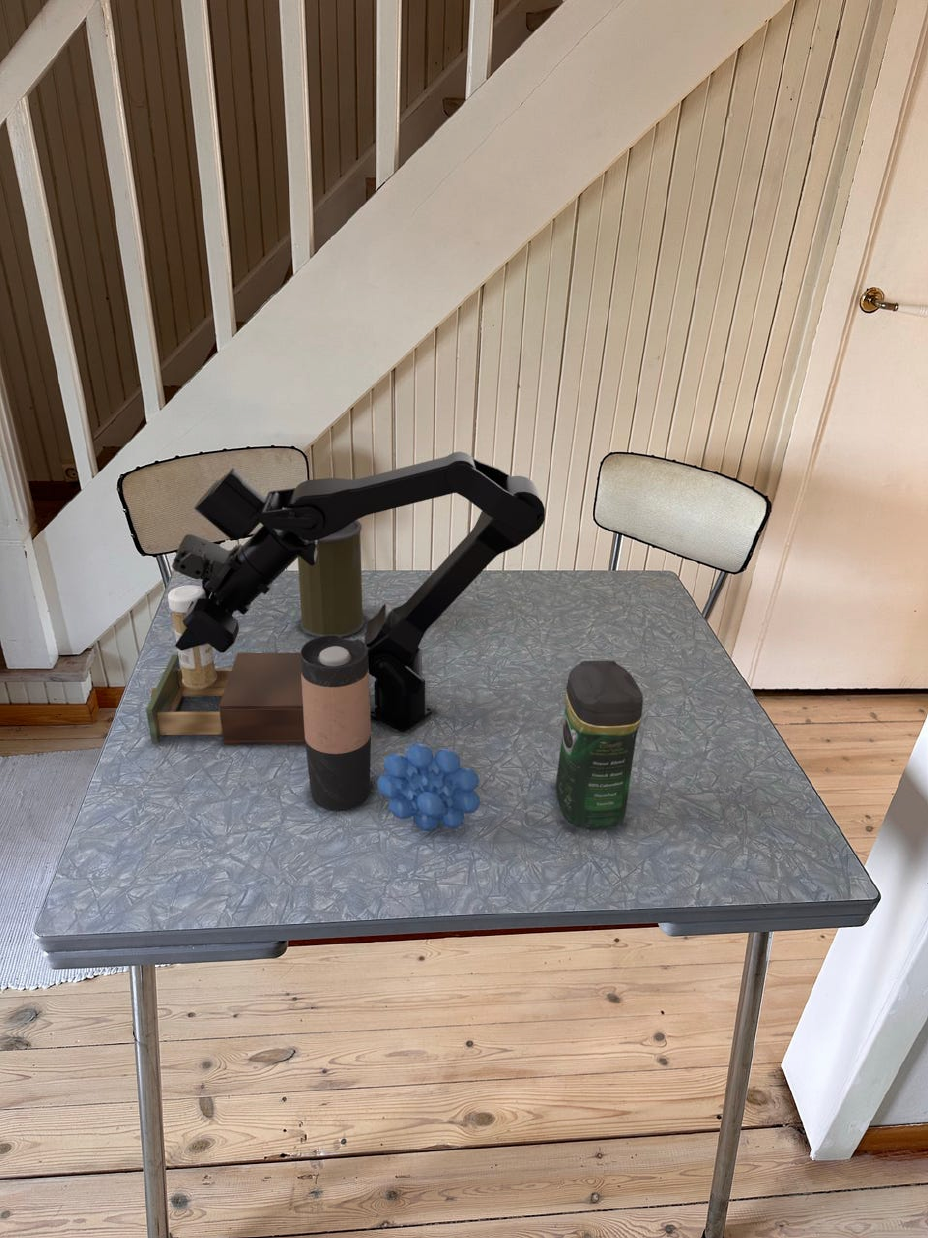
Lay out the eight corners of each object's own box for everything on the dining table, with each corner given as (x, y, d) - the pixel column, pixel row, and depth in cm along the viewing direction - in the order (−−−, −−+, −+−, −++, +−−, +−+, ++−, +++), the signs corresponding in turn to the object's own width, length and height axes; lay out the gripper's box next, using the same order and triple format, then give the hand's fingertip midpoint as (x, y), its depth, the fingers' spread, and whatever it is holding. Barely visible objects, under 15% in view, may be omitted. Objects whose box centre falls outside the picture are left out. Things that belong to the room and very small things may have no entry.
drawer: (142, 744, 109) (135, 709, 106) (168, 686, 121) (163, 654, 118) (246, 743, 110) (242, 708, 107) (262, 686, 121) (259, 654, 119)
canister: (360, 640, 135) (356, 524, 125) (295, 638, 135) (287, 521, 125) (367, 608, 144) (365, 498, 135) (307, 606, 144) (300, 496, 135)
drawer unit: (223, 744, 110) (218, 705, 107) (241, 689, 121) (237, 652, 118) (316, 744, 110) (313, 705, 108) (325, 689, 122) (323, 652, 119)
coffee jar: (632, 831, 98) (655, 698, 89) (566, 835, 97) (582, 701, 88) (610, 778, 106) (628, 651, 97) (549, 781, 105) (562, 654, 96)
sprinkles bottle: (222, 684, 112) (209, 594, 106) (188, 694, 110) (173, 603, 103) (210, 669, 115) (198, 580, 109) (177, 678, 113) (162, 588, 107)
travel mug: (321, 820, 98) (312, 674, 88) (300, 782, 104) (289, 641, 94) (382, 801, 101) (379, 659, 91) (358, 765, 107) (354, 628, 97)
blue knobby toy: (377, 856, 93) (374, 770, 87) (378, 815, 99) (376, 732, 93) (481, 854, 94) (486, 769, 88) (477, 813, 100) (481, 730, 94)
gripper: (223, 492, 110) (150, 568, 115) (190, 549, 94) (107, 636, 98) (289, 547, 114) (216, 619, 119) (268, 611, 98) (184, 692, 102)
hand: (182, 638), depth 109 cm, fingers closed on sprinkles bottle, 4 cm apart
